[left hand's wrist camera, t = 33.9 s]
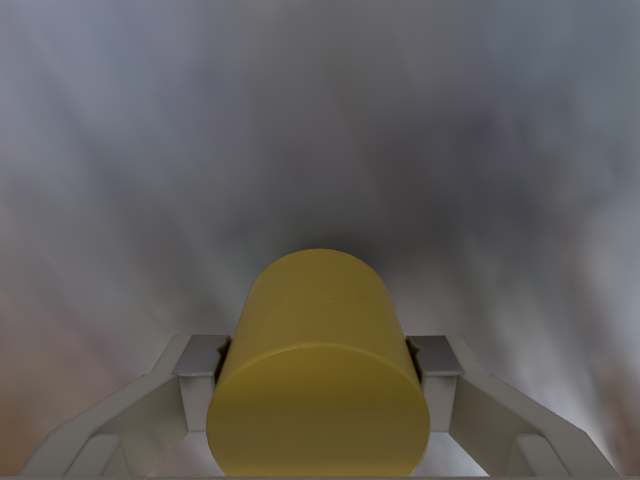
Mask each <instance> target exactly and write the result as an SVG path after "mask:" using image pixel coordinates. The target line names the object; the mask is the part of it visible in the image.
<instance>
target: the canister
mask: <svg viewBox="0 0 640 480" xmlns="http://www.w3.org/2000/svg"><path fill="white" fill-rule="evenodd" d="M430 427H431V424H430V414H429V410H428V406H427V403H426V400H425V397H424V394H423V391H422V388H421V385H420V382H419V379H418V376H417V373H416V371H415V368H414V365H413V362H412V359H411V356H410V353H409V350H408V347H407V344H406V341H405V338H404V335H403V333H402V330H401V327H400V324H399V321H398V318H397V315H396V312H395V309H394V306H393V303H392V300H391V297H390V295H389V292H388V290H387V287H386V285H385V284H384V282H383V281H382V279H381V277H380V276H379V275H378V274H377V273H376V272H375V271H374V270H373V269H372V268H371V267H370V266H369V265H367V264H366V263H364V262H363V261H361V260H360V259H358V258H356V257H354V256H352V255H350V254H347V253H344V252H341V251H336V250H331V249H307V250H301V251H297V252H294V253H290V254H288V255H286V256H283V257H281V258H279V259H278V260H276V261H274V262H273V263H271V264H270V265H269V266H268V267H266V268H265V269H264V270H263V271H262V272H261V273H260V274H259V276H258V277H257V278H256V280H255V281H254V283H253V285H252V287H251V288H250V291H249V293H248V296H247V299H246V302H245V305H244V308H243V311H242V313H241V316H240V319H239V322H238V325H237V328H236V330H235V333H234V336H233V339H232V342H231V345H230V348H229V350H228V353H227V356H226V359H225V362H224V365H223V367H222V370H221V373H220V376H219V379H218V382H217V385H216V387H215V390H214V393H213V396H212V399H211V402H210V405H209V408H208V411H207V418H206V434H207V439H208V444H209V447H210V450H211V452H212V455H213V457H214V459H215V460H216V462H217V464H218V466H219V467H220V468H221V469H222V471H223V472H224V473H225V474H226V475H227V476H353V477H409V476H410V475H411V474H412V473H413V471H414V470H415V469H416V468H417V466H418V465H419V463H420V462H421V460H422V458H423V456H424V454H425V451H426V449H427V445H428V442H429V437H430Z"/></svg>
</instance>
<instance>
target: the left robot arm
mask: <svg viewBox="0 0 640 480" xmlns="http://www.w3.org/2000/svg"><path fill="white" fill-rule="evenodd" d="M405 341H406V344H407V347H408V350H409V353H410V356H411V359H412V362H413V365H414V368H415V371H416V373H417V376H418V379H419V382H420V385H421V388H422V391H423V394H424V397H425V400H426V403H427V406H428V410H429V414H430V424H431V427H430V432H449V435H450V436H451V437H452V438H453V439H454V440H455V441H456V442H457V443H458V444H459V445H460V446H461V447H462V448H463V449H464V450H465V451H466V452H467V453H468V454H469V455H470V456H471V457H472V458H473V459H474V460H475V461H476V462H477V463H478V464H479V465H480V466H481V467H482V468H483V469H484V470H485V471H486V473H487V474H488V475H489V476H490V477H353V476H216V477H146V476H147V475H148V474H149V473H150V472H151V471H152V470H153V469H154V468H155V467H156V466H157V465H158V464H159V463H160V462H161V461H162V460H163V459H164V458H165V457H166V456H167V455H168V454H169V453H170V451H171V450H172V449H173V448H174V447H175V446H176V445H177V444H178V443H179V442H180V441H181V440H182V439H183V438H184V437H185V436H186V435H187V432H206V418H207V411H208V408H209V405H210V402H211V399H212V396H213V393H214V390H215V387H216V385H217V382H218V379H219V376H220V373H221V370H222V367H223V365H224V362H225V359H226V356H227V353H228V350H229V348H230V345H231V342H232V338H231V337H230V336H229V335H175V336H173V337H172V338H171V340H170V342H169V343H168V345H167V346H166V348H165V350H164V351H163V353H162V355H161V356H160V358H159V360H158V361H157V363H156V365H155V366H154V368H153V370H152V371H151V373H150V374H144V375H142V376H141V377H139V378H137V379H136V380H134V381H132V382H131V383H129V384H128V385H126V386H124V387H123V388H121V389H119V390H118V391H116V392H114V393H113V394H111V395H110V396H108V397H106V398H105V399H103V400H101V401H100V402H98V403H96V404H95V405H93V406H92V407H90V408H88V409H87V410H85V411H83V412H82V413H80V414H78V415H77V416H75V417H74V418H72V419H70V420H69V421H67V422H65V423H64V424H62V425H60V426H59V427H57V428H56V429H54V430H52V431H51V432H50V433H49V434H48V435H47V436H46V438H45V439H44V440H43V441H42V443H41V444H40V445H39V446H38V448H37V449H36V450H35V451H34V453H33V454H32V455H31V456H30V458H29V459H28V460H27V461H26V463H25V464H24V465H23V466H22V468H21V469H20V470H19V471H18V473H17V474H16V475H15V476H0V480H640V477H620V476H619V474H618V473H617V472H616V470H615V469H614V468H613V467H612V465H611V464H610V463H609V461H608V460H607V459H606V458H605V456H604V455H603V454H602V452H601V451H600V450H599V449H598V447H597V446H596V445H595V443H594V442H593V441H592V440H591V438H590V437H589V436H588V434H587V433H586V432H584V431H583V430H581V429H580V428H578V427H576V426H575V425H573V424H571V423H570V422H568V421H567V420H565V419H563V418H562V417H560V416H559V415H557V414H555V413H554V412H552V411H550V410H549V409H547V408H546V407H544V406H542V405H541V404H539V403H538V402H536V401H534V400H533V399H531V398H529V397H528V396H526V395H525V394H523V393H521V392H520V391H518V390H517V389H515V388H513V387H512V386H510V385H508V384H507V383H505V382H504V381H502V380H500V379H499V378H497V377H496V376H494V375H492V374H486V373H485V371H484V369H483V368H482V366H481V364H480V363H479V361H478V359H477V358H476V356H475V354H474V353H473V351H472V349H471V348H470V346H469V344H468V343H467V341H466V339H465V338H464V336H462V335H461V334H460V335H442V336H406V339H405Z"/></svg>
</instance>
